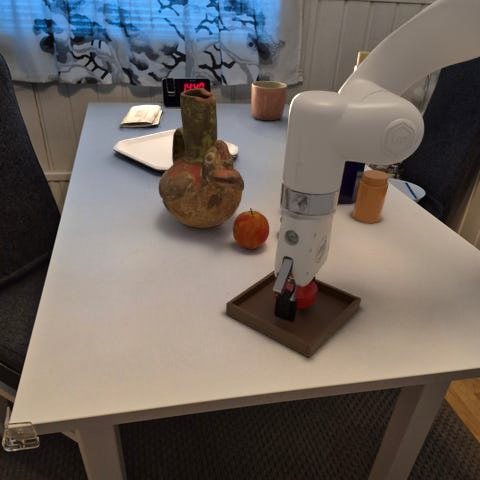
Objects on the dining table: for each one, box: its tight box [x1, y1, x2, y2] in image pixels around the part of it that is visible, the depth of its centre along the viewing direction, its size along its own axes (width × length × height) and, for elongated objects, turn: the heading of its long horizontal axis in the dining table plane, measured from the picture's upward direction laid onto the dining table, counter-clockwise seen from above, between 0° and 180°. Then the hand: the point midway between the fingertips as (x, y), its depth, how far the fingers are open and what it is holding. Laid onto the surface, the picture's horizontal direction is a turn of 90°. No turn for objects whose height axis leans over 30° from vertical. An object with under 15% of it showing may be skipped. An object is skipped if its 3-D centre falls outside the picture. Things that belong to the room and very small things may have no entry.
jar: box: [352, 169, 390, 224], centre depth 96 cm, size 6×6×10 cm
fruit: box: [232, 207, 270, 250], centre depth 84 cm, size 7×7×8 cm
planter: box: [250, 80, 288, 121], centre depth 159 cm, size 12×12×11 cm
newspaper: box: [119, 104, 163, 128], centre depth 155 cm, size 23×12×2 cm, turn 1°
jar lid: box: [274, 275, 317, 309], centre depth 68 cm, size 6×6×2 cm
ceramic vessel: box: [158, 87, 245, 229], centre depth 85 cm, size 17×26×25 cm, turn 29°
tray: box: [225, 269, 362, 358], centre depth 70 cm, size 15×15×2 cm
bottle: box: [337, 51, 372, 205], centre depth 98 cm, size 9×9×30 cm
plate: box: [112, 128, 239, 173], centre depth 126 cm, size 29×29×2 cm
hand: (293, 305), depth 70 cm, fingers closed on jar lid, 6 cm apart
